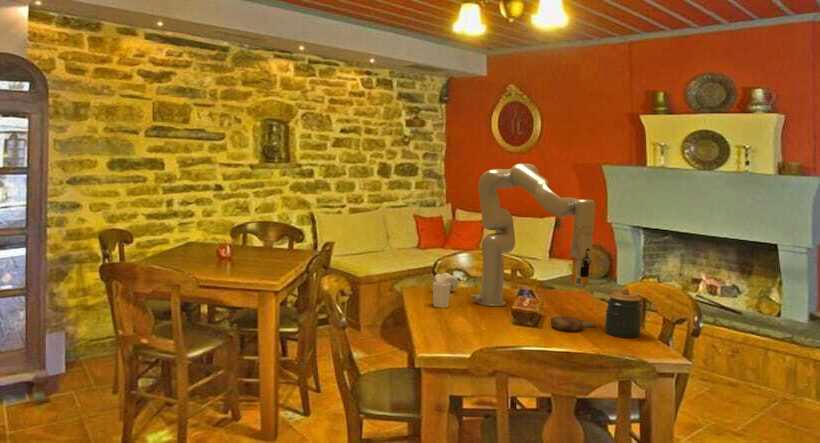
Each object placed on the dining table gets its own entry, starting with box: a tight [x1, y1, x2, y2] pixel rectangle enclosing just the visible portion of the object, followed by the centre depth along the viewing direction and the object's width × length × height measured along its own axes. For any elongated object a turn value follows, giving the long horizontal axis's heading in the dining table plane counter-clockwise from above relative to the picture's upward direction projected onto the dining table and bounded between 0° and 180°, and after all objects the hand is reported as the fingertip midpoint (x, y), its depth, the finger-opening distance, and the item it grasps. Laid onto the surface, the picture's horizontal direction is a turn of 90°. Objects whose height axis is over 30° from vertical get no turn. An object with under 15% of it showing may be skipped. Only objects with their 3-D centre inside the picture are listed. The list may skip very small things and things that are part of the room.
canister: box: [604, 287, 644, 339], centre depth 228 cm, size 13×13×18 cm
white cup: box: [432, 281, 451, 309], centre depth 261 cm, size 8×8×10 cm
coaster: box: [582, 320, 596, 328], centre depth 239 cm, size 7×7×1 cm
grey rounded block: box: [434, 272, 459, 292], centre depth 289 cm, size 11×12×9 cm
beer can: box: [571, 250, 589, 288], centre depth 241 cm, size 6×6×15 cm
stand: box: [550, 315, 584, 333], centre depth 233 cm, size 12×12×3 cm
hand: (580, 274), depth 241 cm, fingers closed on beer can, 6 cm apart
